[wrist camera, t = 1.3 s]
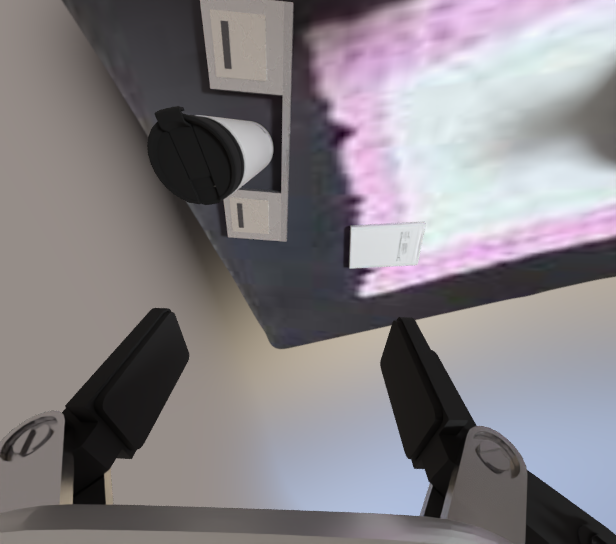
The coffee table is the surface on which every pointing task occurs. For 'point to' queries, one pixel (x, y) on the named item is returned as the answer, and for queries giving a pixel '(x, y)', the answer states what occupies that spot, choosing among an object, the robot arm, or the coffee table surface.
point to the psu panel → (255, 80)
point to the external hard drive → (385, 244)
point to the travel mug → (206, 154)
